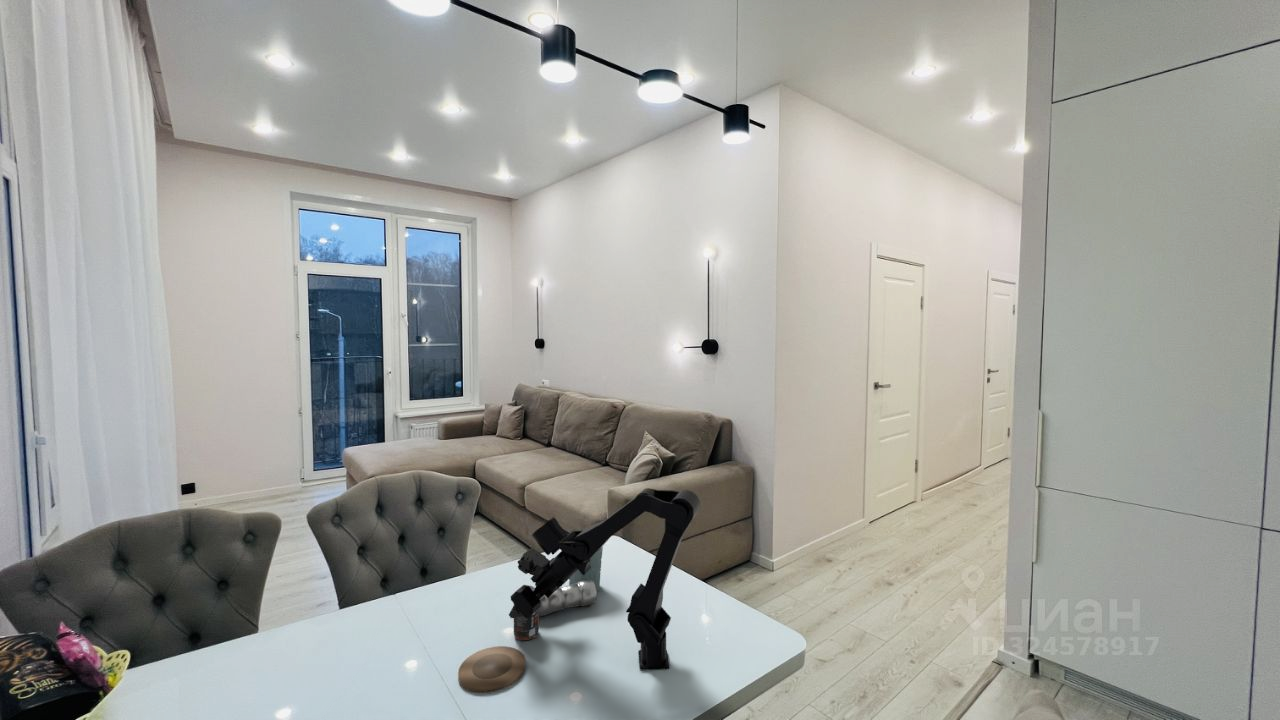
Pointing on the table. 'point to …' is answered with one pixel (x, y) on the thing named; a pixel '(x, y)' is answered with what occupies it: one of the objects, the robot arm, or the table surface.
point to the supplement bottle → (527, 625)
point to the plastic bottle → (569, 597)
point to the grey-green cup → (590, 571)
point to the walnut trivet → (492, 669)
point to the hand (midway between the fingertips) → (521, 606)
